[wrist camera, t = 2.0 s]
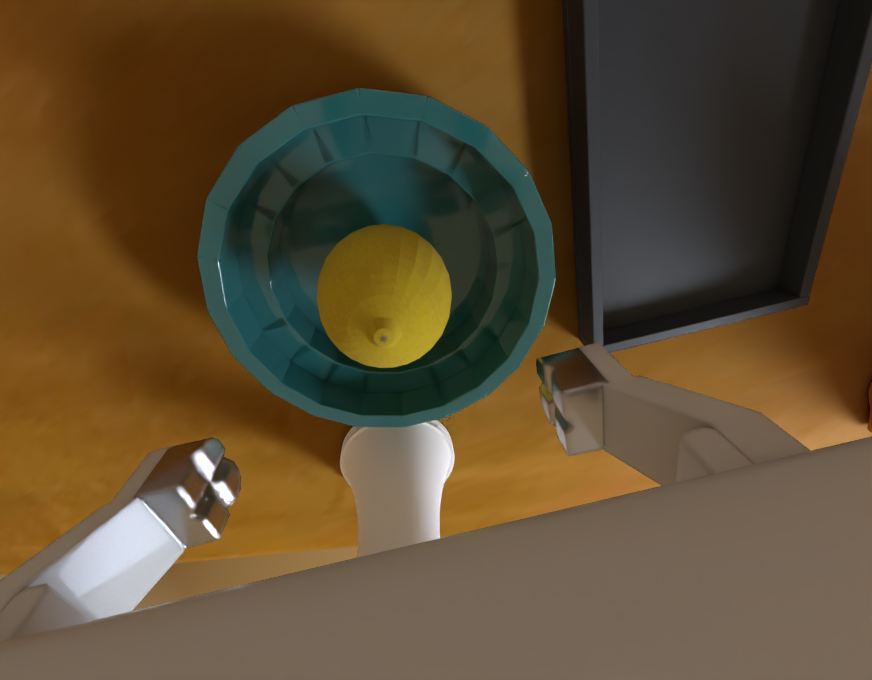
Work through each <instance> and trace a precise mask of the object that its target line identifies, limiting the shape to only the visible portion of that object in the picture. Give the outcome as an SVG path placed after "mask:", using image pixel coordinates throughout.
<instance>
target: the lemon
mask: <svg viewBox="0 0 872 680" xmlns="http://www.w3.org/2000/svg"><path fill="white" fill-rule="evenodd" d="M451 299H452V292H451V285H450V278H449V274H448V272H447V269H446V267H445V265H444V262H443V260H442V258H441V256H440V255H439V254H438V253H437V251H436V250H435V249H434V248H433V246H432V245H431V244H430V243H429V242H428V241H426V240H425V239H424V238H423V237H421V236H420V235H419V234H417V233H416V232H413V231H411V230H408V229H406V228H404V227H401V226H395V225H388V224H380V225H372V226H367V227H364V228H362V229H359V230H357V231H354V232H352V233H350V234H349V235H348V236H346V237H345V238H344V239H342V240H341V241H340V242H339V243H338V244H337V245H336V246H335V247H334V249H333V250H332V251H331V252H330V254H329V255H328V256H327V258H326V260H325V262H324V265H323V267H322V270H321V272H320V275H319V279H318V289H317V304H318V309H319V315H320V320H321V322H322V325H323V327H324V329H325V331H326V333H327V335H328V337H329V338H330V340H331V341H332V342H333V343H334V344H335V346H336V347H337V348H338V349H339V350H340V351H341V352H342V353H344V354H345V355H347V356H348V357H349V358H351V359H352V360H355V361H357V362H359V363H362V364H364V365H367V366H372V367H378V368H393V367H397V366H402V365H406V364H409V363H411V362H413V361H415V360H417V359H419V358H421V357H422V356H423V355H424V354H425V353H427V352H428V351H429V350H430V349H431V348H432V347H433V346H434V345H435V343H436V342H437V341H438V339H439V338H440V337H441V335H442V333H443V331H444V329H445V326H446V324H447V321H448V319H449V315H450V307H451Z"/></svg>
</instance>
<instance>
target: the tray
mask: <svg viewBox="0 0 872 680" xmlns="http://www.w3.org/2000/svg"><path fill="white" fill-rule="evenodd" d="M562 4H563V23H564V43H565V63H566V83H567V102H568V122H569V142H570V162H571V181H572V201H573V221H574V241H575V260H576V280H577V300H578V320H579V339H580V341H581V342H582V343H583V345H584V346H586V345H589V344H593V343H600V344H601V345H602V346H603V347H604V348H605V349H606V350H607V351H608V352H609V353H610V352H614V351H618V350H623V349H627V348H631V347H635V346H639V345H643V344H647V343H652V342H656V341H660V340H664V339H668V338H672V337H676V336H680V335H685V334H689V333H693V332H697V331H701V330H705V329H709V328H714V327H718V326H722V325H726V324H730V323H734V322H738V321H742V320H747V319H751V318H755V317H759V316H763V315H767V314H771V313H776V312H780V311H784V310H788V309H792V308H796V307H800V306H804V305H807V304H808V300H809V297H810V296H809V295H810V292H811V288H812V285H813V281H814V277H815V273H816V270H817V266H818V262H819V258H820V255H821V251H822V247H823V243H824V240H825V236H826V232H827V228H828V224H829V221H830V217H831V213H832V209H833V206H834V202H835V198H836V194H837V191H838V187H839V183H840V179H841V176H842V172H843V168H844V164H845V161H846V157H847V153H848V149H849V145H850V142H851V138H852V134H853V130H854V127H855V123H856V119H857V115H858V112H859V108H860V104H861V100H862V97H863V93H864V89H865V85H866V82H867V78H868V74H869V70H870V66H871V63H872V0H562Z"/></svg>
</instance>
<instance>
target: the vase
mask: <svg viewBox="0 0 872 680" xmlns="http://www.w3.org/2000/svg"><path fill="white" fill-rule="evenodd" d="M450 463H451V464H450ZM453 466H454V450H453V445H452V440H451V437H450V435H449V433H448V431H447V430H446V428H445V427H444V426H443V425H442V424H441V423H440V422H439V421H438V420H434V421H430V422H425V423H421V424H417V425H413V426H409V427H359V426H358V427H355V426H353V427H352V428H351V429H350V431H349V432H348V433H347V435H346V437H345V439H344V441H343V444H342V449H341V456H340V468H341V472H342V475H343V477H344V478H345V480H346V481H347V483H348V484H349V485H350V486H351V487H352V491H353V494H354V499H355V504H356V510H357V520H358V549H357V558H358V557H362V556H366V555H371V554H375V553H379V552H383V551H388V550H392V549H396V548H400V547H405V546H409V545H413V544H418V543H422V542H426V541H430V540H435V539H439V538H440V528H439V516H440V502H441V495H442V490H443V485H444V482H445V481H446V479H447V478H448V477H449V475H450V473H451V471H452V469H453Z"/></svg>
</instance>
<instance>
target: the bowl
mask: <svg viewBox="0 0 872 680" xmlns="http://www.w3.org/2000/svg"><path fill="white" fill-rule="evenodd" d="M380 224H388V225H395V226H401V227H404V228H406V229H408V230H411V231H413V232H416V233H417V234H419V235H420V236H421V237H423V238H424V239H425V240H426V241H428V242H429V243H430V244H431V245H432V246H433V248H434V249H435V250H436V251H437V253H438V254H439V255H440V256H441V258H442V260H443V262H444V265H445V267H446V269H447V272H448V274H449V278H450V285H451V292H452V299H451V307H450V315H449V319H448V321H447V324H446V326H445V329H444V331H443V333H442V335H441V337H440V338H439V339H438V341H437V342H436V343H435V345H434V346H433V347H432V348H431V349H430V350H429V351H428V352H427V353H425V354H424V355H423V356H422V357H421V358H419V359H417V360H415V361H413V362H411V363H409V364H406V365H402V366H397V367H393V368H378V367H372V366H367V365H364V364H362V363H359V362H357V361H355V360H352V359H351V358H349V357H348V356H347V355H345V354H344V353H342V352H341V351H340V350H339V349H338V348H337V347H336V346H335V344H334V343H333V342H332V341H331V340H330V338H329V337H328V335H327V333H326V331H325V329H324V327H323V325H322V322H321V320H320V315H319V309H318V304H317V289H318V279H319V275H320V272H321V270H322V267H323V265H324V262H325V260H326V258H327V256H328V255H329V254H330V252H331V251H332V250H333V249H334V247H335V246H336V245H337V244H338V243H339V242H340V241H341V240H342V239H344V238H345V237H346V236H348V235H349V234H350V233H352V232H354V231H357V230H359V229H362V228H364V227H367V226H372V225H380ZM197 256H198V257H197V260H198V265H199V270H200V275H201V280H202V286H203V291H204V296H205V301H206V306H207V310H208V313H209V315H210V317H211V318H212V320H213V322H214V324H215V325H216V327H217V329H218V331H219V332H220V334H221V336H222V338H223V339H224V341H225V343H226V345H227V347H228V348H229V350H230V352H231V354H232V355H233V357H234V358H235V359H236V360H237V361H238V362H239V363H240V364H241V365H242V366H243V367H244V368H245V369H246V370H247V371H248V372H249V373H250V374H251V375H253V376H254V377H255V378H256V379H257V380H258V381H259V382H260V383H261V384H262V385H263V386H264V387H265V388H266V389H267V390H268V391H269V392H271V393H272V394H274V395H276V396H278V397H280V398H281V399H283V400H285V401H287V402H289V403H291V404H292V405H294V406H296V407H298V408H300V409H302V410H303V411H305V412H307V413H309V414H311V415H313V416H316V417H320V418H324V419H328V420H331V421H335V422H339V423H343V424H347V425H351V426H355V427H358V426H359V427H409V426H413V425H417V424H421V423H425V422H430V421H434V420H438V419H442V418H446V417H447V416H450V415H452V414H454V413H456V412H458V411H460V410H462V409H463V408H465V407H467V406H469V405H471V404H473V403H475V402H477V401H479V400H481V399H482V398H484V397H486V395H487V396H488V395H489V394H490V393H491V392H492V391H494V390H495V389H496V388H497V387H498V386H499V385H500V384H501V383H502V382H503V381H504V380H505V379H506V378H508V377H509V376H510V375H511V374H512V373H513V372H514V371H515V370H516V369H517V368H518V367H519V366H520V364H521V363H522V361H523V360H524V358H525V356H526V355H527V353H528V352H529V350H530V348H531V347H532V345H533V343H534V342H535V340H536V338H537V337H538V335H539V333H540V332H541V330H542V328H543V326H544V325H545V322H546V318H547V314H548V309H549V305H550V301H551V297H552V293H553V289H554V285H555V281H556V269H555V256H554V243H553V230H552V223H551V220H550V218H549V216H548V213H547V211H546V209H545V206H544V204H543V202H542V199H541V197H540V195H539V193H538V190H537V188H536V186H535V183H534V181H533V179H532V176H531V174H530V173H529V171H528V170H527V168H526V167H525V166H524V165H523V164H522V163H521V162H520V161H519V160H518V159H517V158H516V157H515V156H514V155H513V153H512V152H511V151H510V150H509V149H508V148H507V147H506V146H505V145H504V144H503V143H502V142H501V141H500V139H499V138H498V137H497V136H496V135H495V134H494V133H493V132H492V131H491V130H490V129H489V128H488V127H486V125H484V124H482V123H480V122H478V121H476V120H474V119H472V118H470V117H469V116H467V115H465V114H463V113H461V112H459V111H457V110H455V109H453V108H451V107H449V106H447V105H445V104H443V103H441V102H439V101H437V100H435V99H433V98H431V97H429V96H427V97H426V95H420V94H411V93H403V92H394V91H385V90H377V89H368V88H359V89H357V88H354V89H350V90H346V91H343V92H339V93H335V94H331V95H327V96H323V97H320V98H316V99H312V100H308V101H304V102H300V103H297V104H294V105H293V106H289V107H288V108H287V109H285V110H284V111H283V112H281V113H280V114H279V115H277V116H276V117H275V118H273V119H272V120H270V121H269V122H268V123H266V124H265V125H264V126H262V127H261V128H260V129H258V130H257V131H256V132H254V133H253V134H252V135H250V136H249V137H248V138H246V139H245V140H244V141H242V142H241V143H240V145H238V146H237V147H236V149H235V151H234V152H233V154H232V156H231V157H230V159H229V161H228V162H227V164H226V166H225V167H224V169H223V171H222V172H221V174H220V176H219V177H218V179H217V181H216V182H215V184H214V186H213V187H212V189H211V191H210V192H209V194H208V196H207V199H206V202H205V208H204V214H203V220H202V226H201V233H200V239H199V245H198V251H197Z"/></svg>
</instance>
